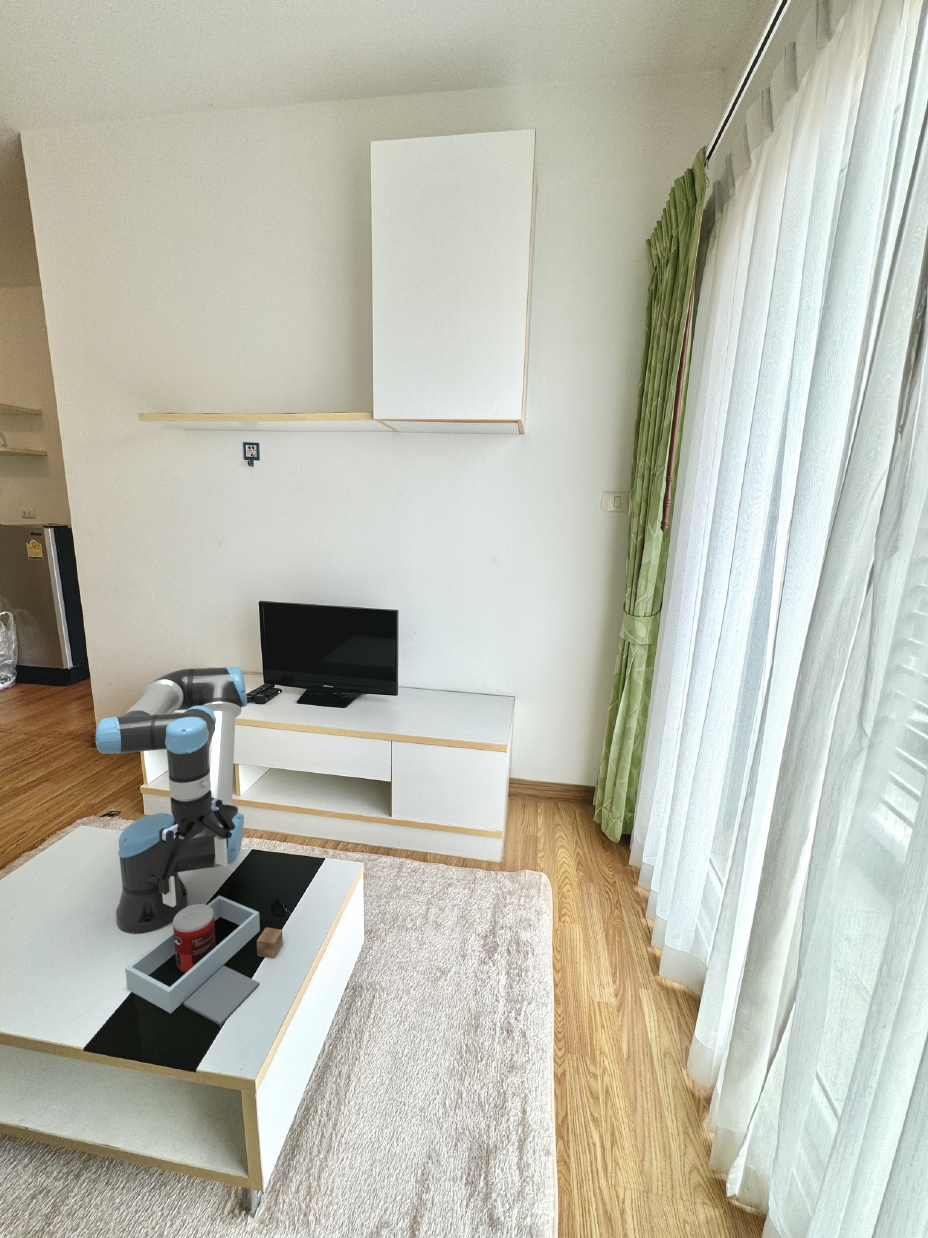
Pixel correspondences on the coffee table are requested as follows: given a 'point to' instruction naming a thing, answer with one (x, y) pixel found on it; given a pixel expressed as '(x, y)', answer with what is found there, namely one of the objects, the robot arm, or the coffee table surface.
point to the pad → (221, 995)
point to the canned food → (193, 935)
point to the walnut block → (269, 943)
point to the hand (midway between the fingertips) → (197, 883)
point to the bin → (202, 970)
